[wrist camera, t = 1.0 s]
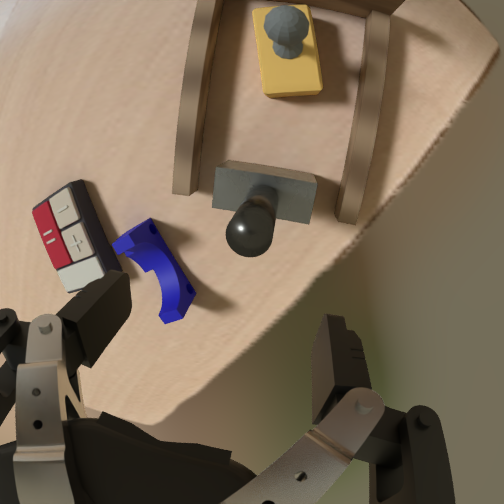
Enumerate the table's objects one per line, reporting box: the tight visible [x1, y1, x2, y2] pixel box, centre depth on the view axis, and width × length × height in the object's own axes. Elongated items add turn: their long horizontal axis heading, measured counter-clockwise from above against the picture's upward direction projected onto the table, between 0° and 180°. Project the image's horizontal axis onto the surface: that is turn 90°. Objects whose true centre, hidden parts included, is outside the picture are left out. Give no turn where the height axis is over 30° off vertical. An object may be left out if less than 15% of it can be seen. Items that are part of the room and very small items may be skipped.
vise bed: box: [172, 0, 405, 225], centre depth 23 cm, size 26×20×8 cm
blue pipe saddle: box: [112, 218, 196, 324], centre depth 35 cm, size 12×4×6 cm, turn 27°
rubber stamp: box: [252, 5, 323, 98], centre depth 20 cm, size 10×6×12 cm, turn 7°
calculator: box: [32, 179, 122, 293], centre depth 37 cm, size 11×4×15 cm
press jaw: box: [212, 160, 318, 257], centre depth 25 cm, size 4×9×14 cm, turn 82°
